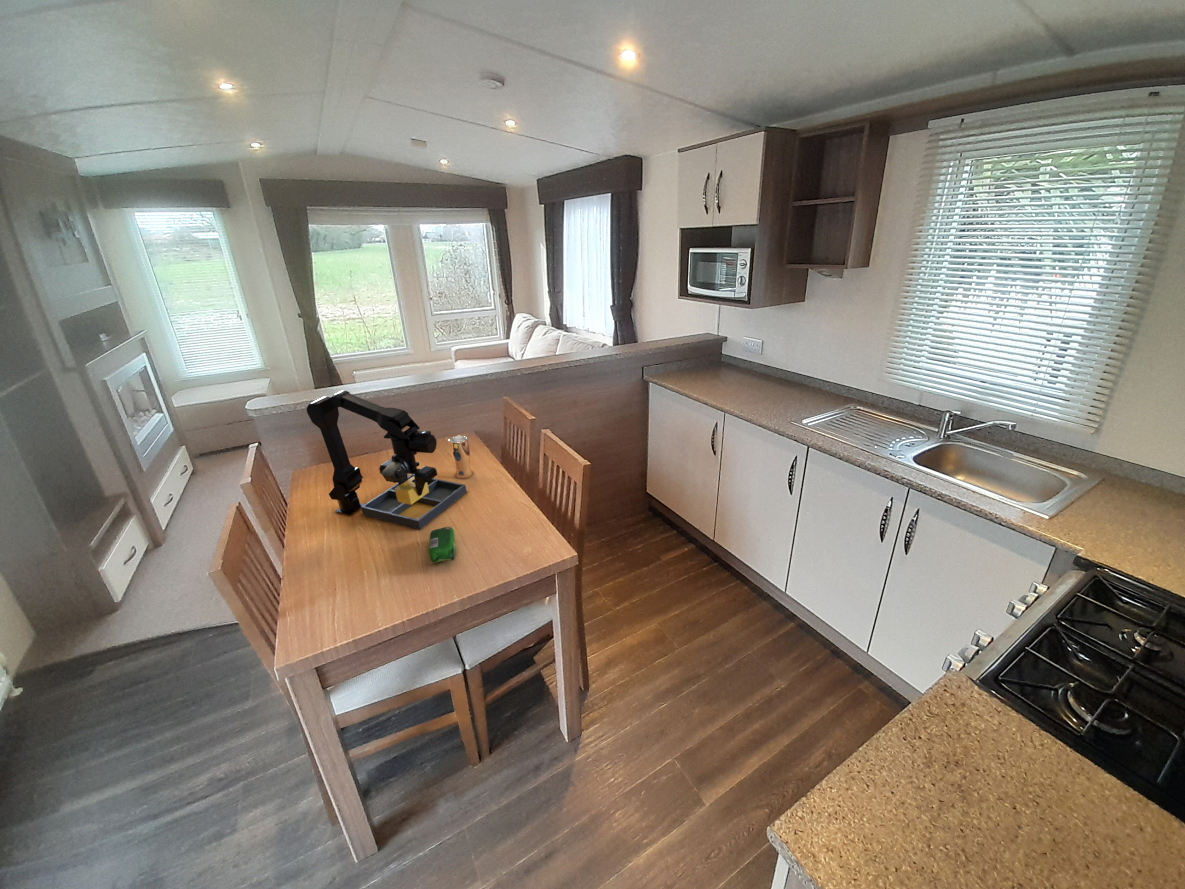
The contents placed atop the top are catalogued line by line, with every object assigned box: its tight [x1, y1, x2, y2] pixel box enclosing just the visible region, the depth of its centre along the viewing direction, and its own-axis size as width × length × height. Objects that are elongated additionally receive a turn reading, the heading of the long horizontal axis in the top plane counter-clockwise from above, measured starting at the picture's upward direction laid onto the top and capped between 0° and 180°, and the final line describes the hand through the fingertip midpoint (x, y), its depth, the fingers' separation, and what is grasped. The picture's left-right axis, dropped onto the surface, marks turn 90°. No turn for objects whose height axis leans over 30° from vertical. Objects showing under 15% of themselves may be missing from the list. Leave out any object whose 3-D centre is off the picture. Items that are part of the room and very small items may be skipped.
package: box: [395, 476, 429, 505], centre depth 154 cm, size 6×8×5 cm, turn 157°
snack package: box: [428, 526, 456, 564], centre depth 138 cm, size 7×16×5 cm, turn 15°
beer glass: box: [448, 435, 473, 479], centre depth 180 cm, size 7×7×15 cm
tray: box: [360, 474, 468, 530], centre depth 164 cm, size 24×24×3 cm
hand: (413, 493), depth 154 cm, fingers closed on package, 5 cm apart
